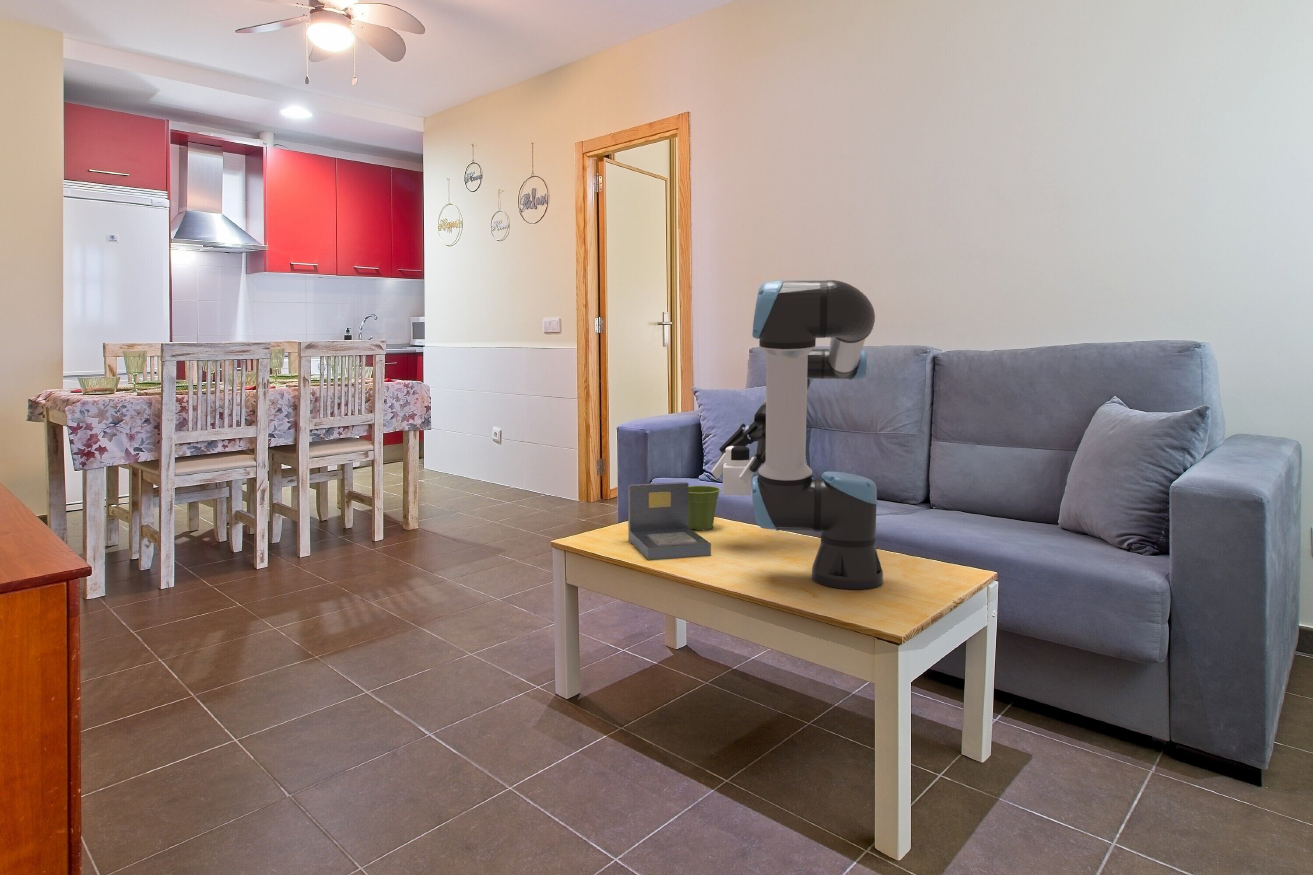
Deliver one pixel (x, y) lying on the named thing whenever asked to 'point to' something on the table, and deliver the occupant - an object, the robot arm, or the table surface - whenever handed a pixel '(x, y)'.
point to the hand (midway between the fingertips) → (728, 477)
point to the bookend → (662, 522)
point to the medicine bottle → (736, 471)
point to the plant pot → (702, 506)
